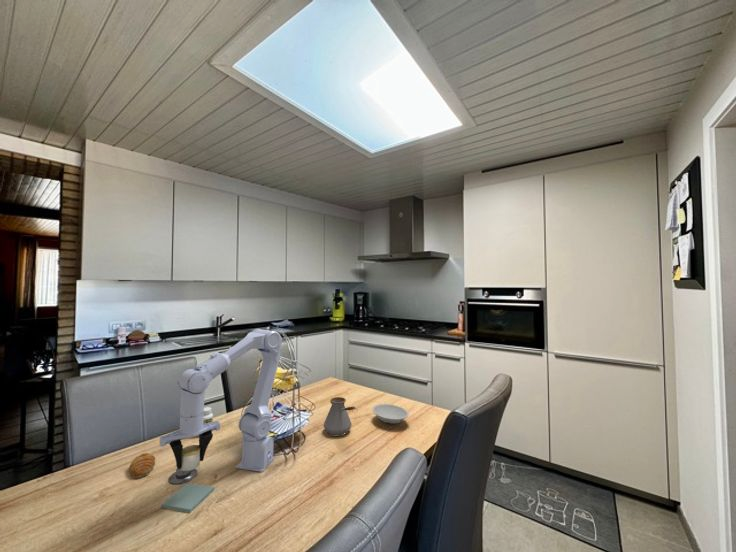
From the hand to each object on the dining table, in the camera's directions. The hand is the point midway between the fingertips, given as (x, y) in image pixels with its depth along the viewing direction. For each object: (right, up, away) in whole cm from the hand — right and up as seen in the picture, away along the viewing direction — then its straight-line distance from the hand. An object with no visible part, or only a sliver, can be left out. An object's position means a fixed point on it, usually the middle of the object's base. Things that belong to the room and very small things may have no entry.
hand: (190, 463), depth 84 cm
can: (0, -1, 0) cm, 1 cm away
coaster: (0, -9, 0) cm, 9 cm away
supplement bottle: (-16, -11, +36) cm, 41 cm away
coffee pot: (+39, -12, +36) cm, 54 cm away
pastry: (-22, -10, +12) cm, 28 cm away
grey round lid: (-7, -10, +9) cm, 15 cm away
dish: (+59, -13, +49) cm, 78 cm away
